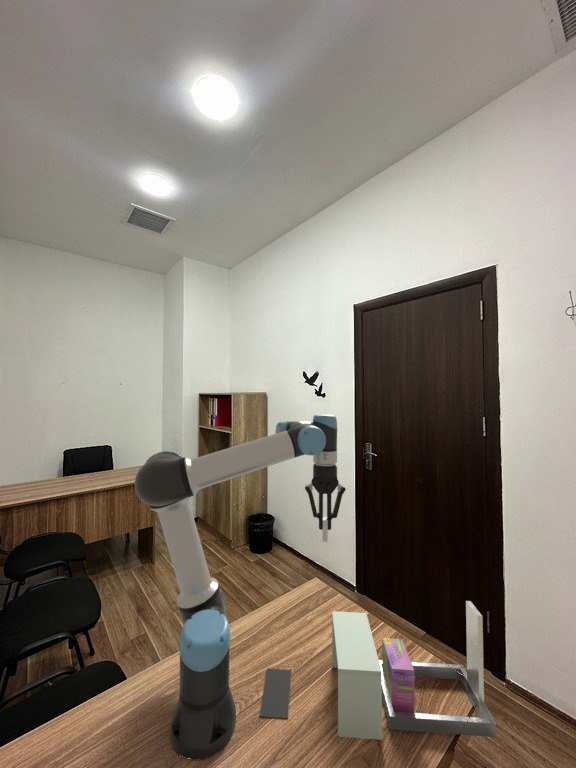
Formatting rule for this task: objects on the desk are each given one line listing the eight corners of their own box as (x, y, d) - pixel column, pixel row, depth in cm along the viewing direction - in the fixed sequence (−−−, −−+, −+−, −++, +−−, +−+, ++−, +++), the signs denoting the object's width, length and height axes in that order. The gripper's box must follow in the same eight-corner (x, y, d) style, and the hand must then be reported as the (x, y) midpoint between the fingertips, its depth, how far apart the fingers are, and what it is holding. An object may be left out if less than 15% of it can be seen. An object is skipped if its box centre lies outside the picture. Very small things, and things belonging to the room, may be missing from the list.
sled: (390, 730, 76) (389, 625, 77) (375, 671, 92) (375, 585, 93) (496, 738, 74) (494, 631, 75) (462, 676, 91) (461, 589, 92)
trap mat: (259, 717, 79) (259, 716, 79) (267, 669, 93) (267, 668, 93) (287, 719, 79) (287, 718, 79) (291, 670, 93) (291, 669, 93)
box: (415, 719, 79) (414, 669, 79) (391, 718, 79) (391, 668, 80) (402, 682, 89) (402, 638, 90) (382, 681, 90) (381, 637, 90)
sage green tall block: (338, 736, 75) (338, 668, 75) (332, 664, 95) (332, 611, 96) (382, 739, 74) (381, 671, 75) (366, 666, 94) (366, 612, 95)
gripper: (304, 465, 98) (303, 544, 97) (347, 466, 97) (347, 546, 96) (304, 460, 106) (304, 534, 105) (344, 461, 105) (344, 535, 104)
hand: (324, 539), depth 100 cm, fingers closed
